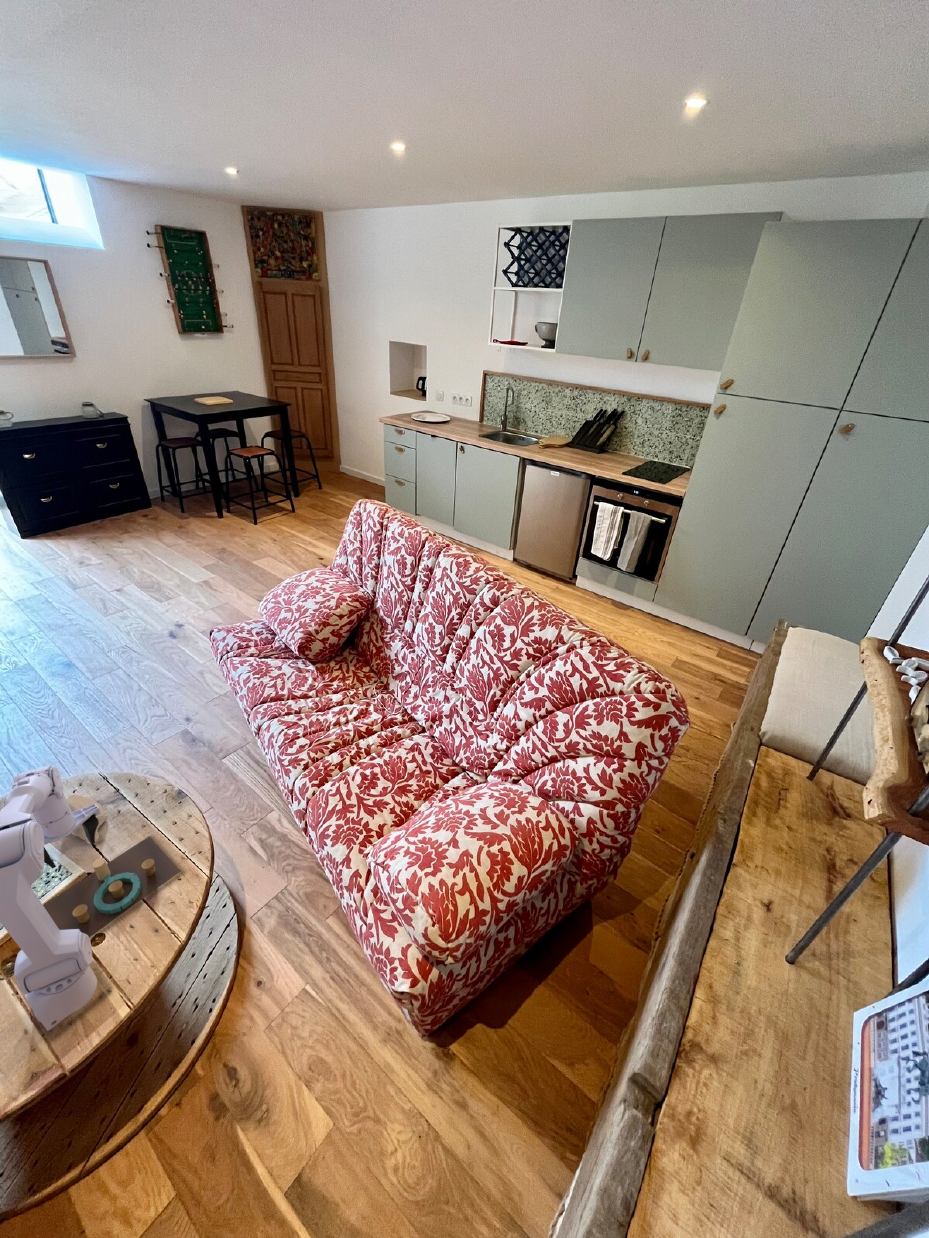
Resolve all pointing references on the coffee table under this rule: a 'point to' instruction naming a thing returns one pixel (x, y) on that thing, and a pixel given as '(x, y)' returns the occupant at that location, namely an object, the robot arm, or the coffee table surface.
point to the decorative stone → (79, 803)
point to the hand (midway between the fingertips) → (72, 852)
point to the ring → (104, 874)
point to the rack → (111, 888)
